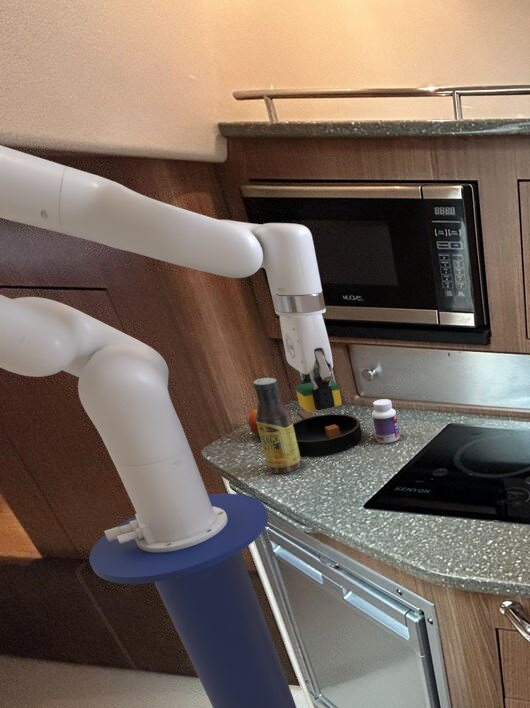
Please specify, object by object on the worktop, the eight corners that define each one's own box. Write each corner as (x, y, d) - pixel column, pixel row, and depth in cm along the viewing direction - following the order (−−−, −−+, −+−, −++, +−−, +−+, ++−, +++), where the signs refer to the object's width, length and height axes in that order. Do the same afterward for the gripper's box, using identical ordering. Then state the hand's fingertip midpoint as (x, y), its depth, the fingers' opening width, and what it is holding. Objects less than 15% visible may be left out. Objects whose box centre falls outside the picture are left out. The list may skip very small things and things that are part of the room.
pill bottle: (402, 440, 121) (396, 403, 117) (379, 445, 119) (372, 407, 114) (396, 432, 125) (391, 396, 121) (374, 437, 123) (367, 400, 118)
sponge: (307, 412, 89) (302, 391, 87) (299, 406, 91) (294, 385, 90) (342, 404, 93) (338, 384, 91) (333, 399, 95) (329, 379, 94)
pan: (301, 463, 110) (297, 448, 108) (269, 432, 123) (265, 418, 121) (373, 442, 120) (370, 428, 118) (336, 415, 133) (334, 402, 132)
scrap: (330, 439, 119) (328, 429, 118) (326, 435, 121) (324, 426, 119) (341, 436, 121) (339, 427, 120) (337, 433, 122) (335, 424, 121)
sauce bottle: (262, 471, 106) (235, 382, 97) (287, 459, 111) (264, 373, 102) (285, 477, 104) (260, 387, 95) (310, 464, 109) (288, 378, 100)
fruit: (236, 433, 118) (246, 401, 118) (269, 439, 125) (279, 409, 125) (254, 442, 115) (264, 409, 115) (287, 447, 122) (298, 416, 122)
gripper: (259, 297, 87) (282, 396, 95) (292, 314, 77) (315, 423, 85) (305, 294, 92) (324, 388, 100) (342, 309, 82) (360, 413, 90)
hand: (320, 403), depth 92 cm, fingers closed on sponge, 4 cm apart
